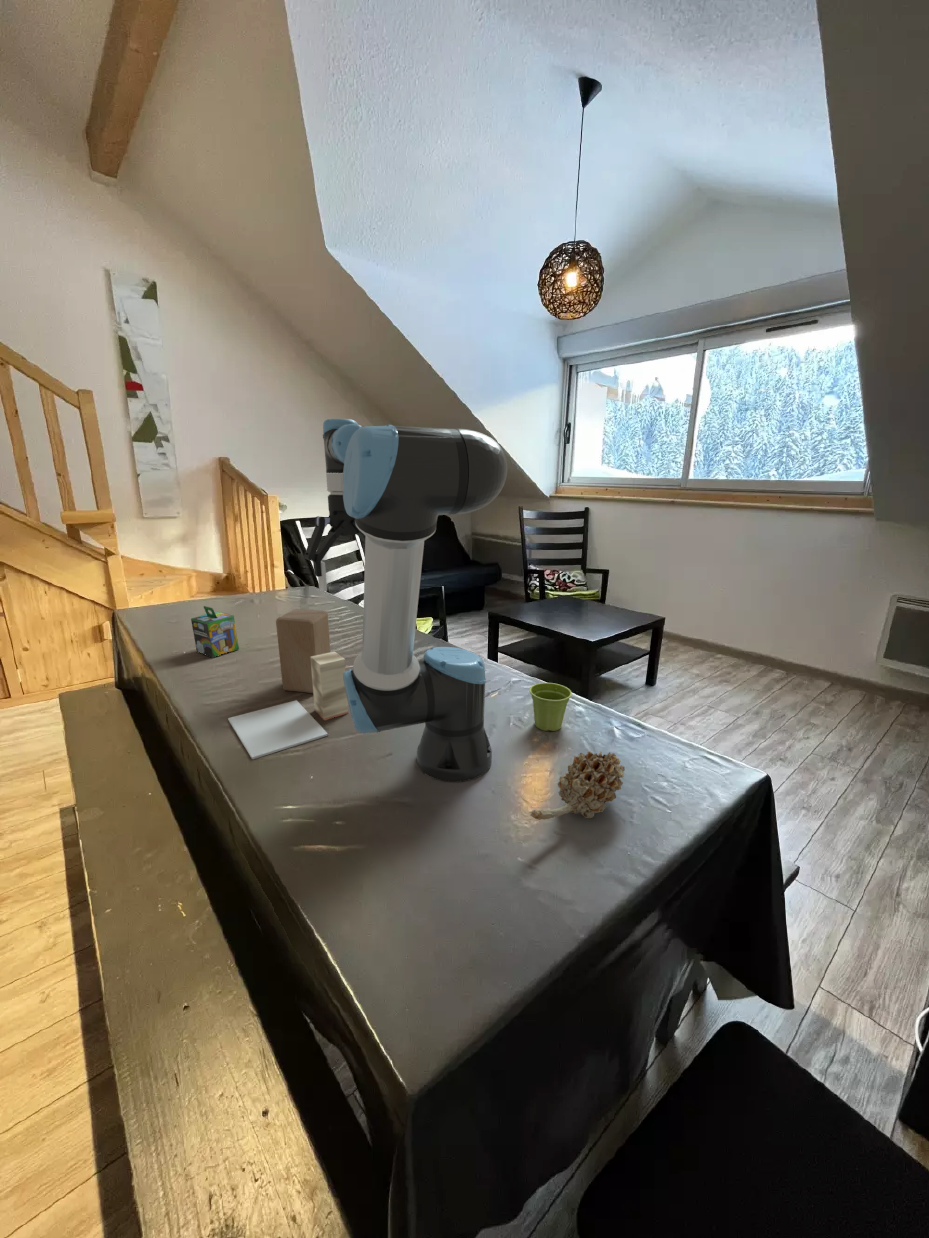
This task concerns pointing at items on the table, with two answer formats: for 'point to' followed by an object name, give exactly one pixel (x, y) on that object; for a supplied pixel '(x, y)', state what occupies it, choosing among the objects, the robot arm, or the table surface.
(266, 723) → the mat
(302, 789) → the table surface
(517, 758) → the table surface
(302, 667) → the block
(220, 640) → the chalk box
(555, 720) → the plant pot
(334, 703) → the birch block
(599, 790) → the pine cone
